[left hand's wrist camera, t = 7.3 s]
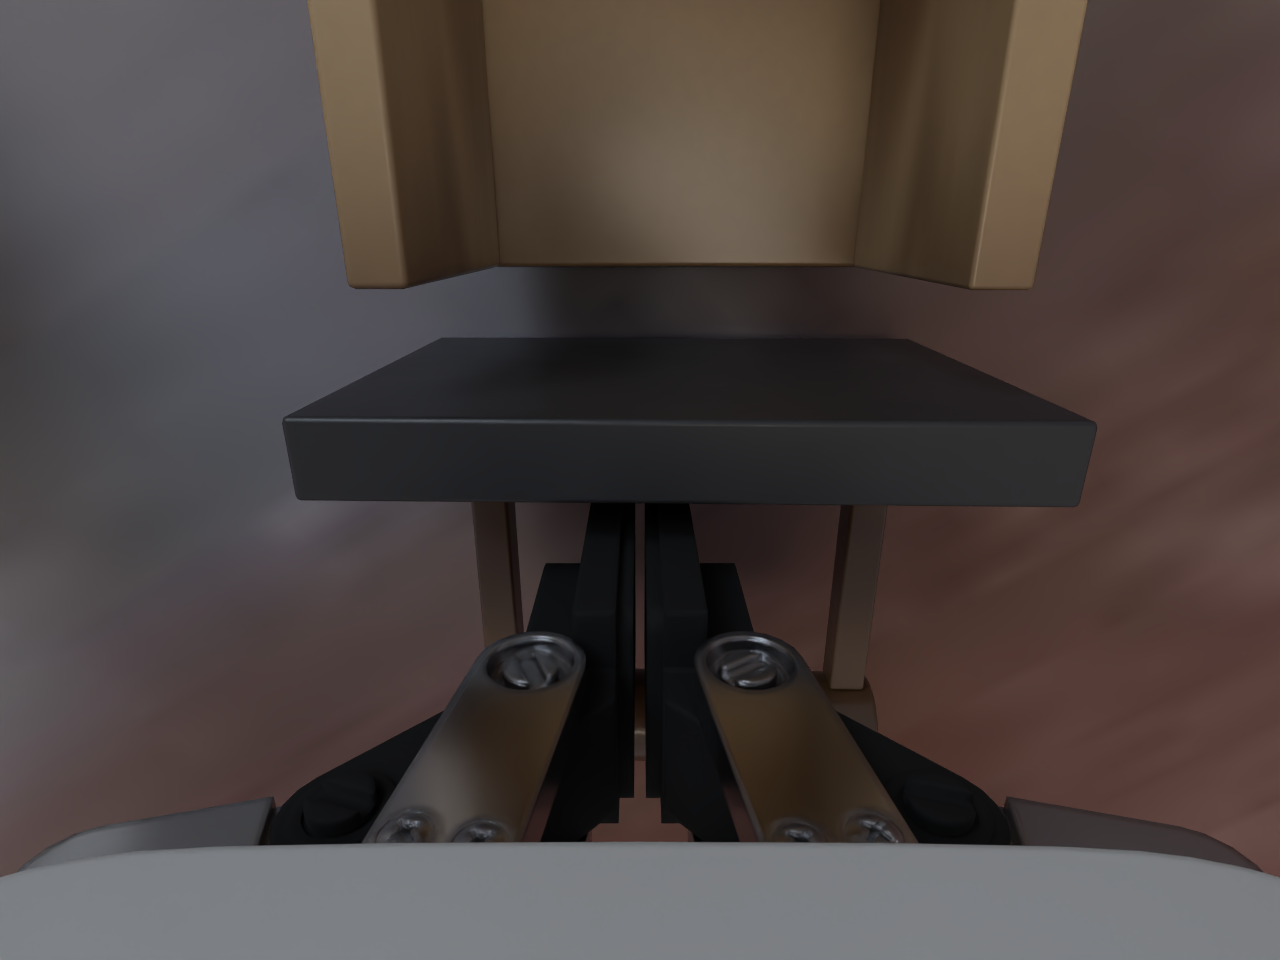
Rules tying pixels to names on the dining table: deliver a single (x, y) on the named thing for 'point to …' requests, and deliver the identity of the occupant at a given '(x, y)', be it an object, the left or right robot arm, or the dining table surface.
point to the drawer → (693, 260)
